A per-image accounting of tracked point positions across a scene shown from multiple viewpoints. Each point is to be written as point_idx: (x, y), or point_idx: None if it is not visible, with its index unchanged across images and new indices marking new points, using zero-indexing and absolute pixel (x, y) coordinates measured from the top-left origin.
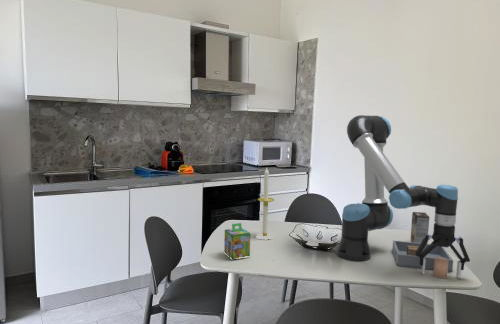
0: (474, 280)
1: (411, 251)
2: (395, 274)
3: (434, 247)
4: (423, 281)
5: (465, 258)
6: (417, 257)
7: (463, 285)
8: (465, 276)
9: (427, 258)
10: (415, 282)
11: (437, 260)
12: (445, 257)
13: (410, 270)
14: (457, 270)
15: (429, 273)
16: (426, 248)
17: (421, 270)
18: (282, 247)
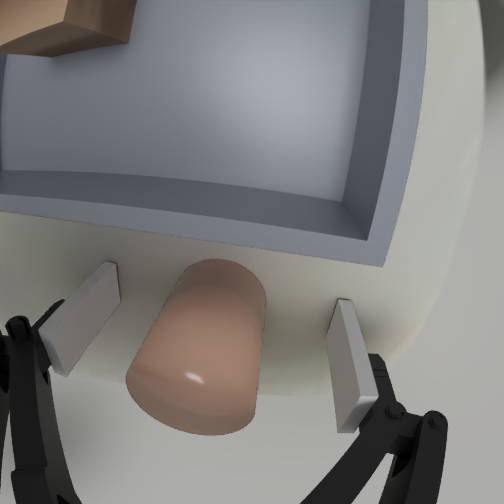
0: (418, 333)
1: (15, 47)
2: (14, 300)
3: (72, 493)
4: (116, 367)
5: (404, 449)
6: (29, 210)
7: (309, 395)
8: (405, 286)
9: (99, 220)
10: (88, 372)
11: (149, 410)
12: (384, 12)
13: (54, 240)
14: (340, 348)
15: (154, 272)
16: (13, 411)
17: (100, 268)
18: None
